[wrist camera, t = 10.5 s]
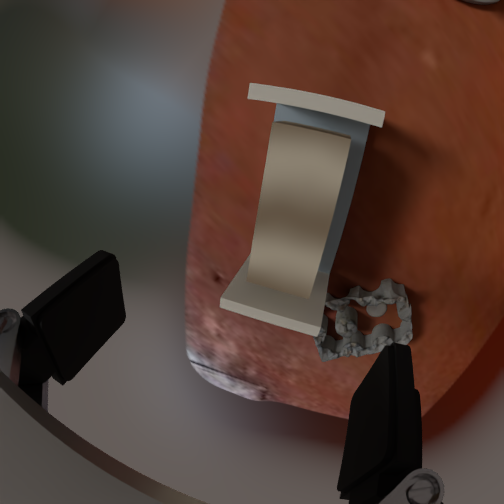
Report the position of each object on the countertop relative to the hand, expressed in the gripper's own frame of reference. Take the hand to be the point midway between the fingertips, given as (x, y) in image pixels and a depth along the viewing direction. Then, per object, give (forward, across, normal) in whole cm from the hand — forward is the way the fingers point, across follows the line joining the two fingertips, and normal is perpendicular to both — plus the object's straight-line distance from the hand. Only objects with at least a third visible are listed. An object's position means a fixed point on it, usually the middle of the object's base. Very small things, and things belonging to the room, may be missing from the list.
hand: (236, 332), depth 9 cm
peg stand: (+20, 0, +1) cm, 20 cm away
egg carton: (+20, -9, +12) cm, 25 cm away
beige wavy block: (+16, 0, +1) cm, 16 cm away
